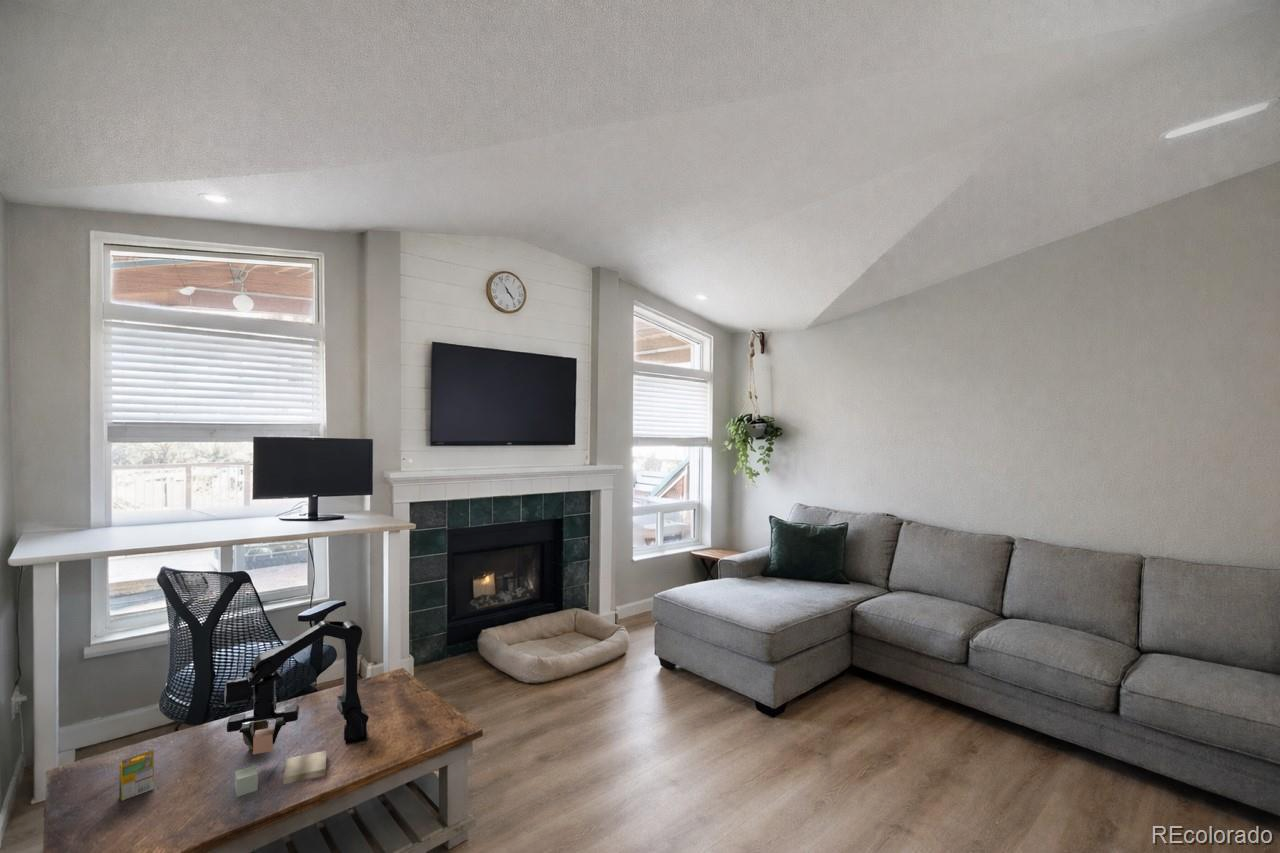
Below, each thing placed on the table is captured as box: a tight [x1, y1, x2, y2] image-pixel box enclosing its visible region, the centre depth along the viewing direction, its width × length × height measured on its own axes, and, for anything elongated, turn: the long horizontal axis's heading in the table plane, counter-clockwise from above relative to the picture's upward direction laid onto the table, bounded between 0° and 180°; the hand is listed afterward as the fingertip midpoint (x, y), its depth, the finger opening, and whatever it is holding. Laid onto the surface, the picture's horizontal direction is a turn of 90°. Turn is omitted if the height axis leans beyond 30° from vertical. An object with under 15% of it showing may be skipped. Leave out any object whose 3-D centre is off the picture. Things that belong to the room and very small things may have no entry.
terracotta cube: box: [252, 726, 275, 755], centre depth 187 cm, size 5×5×5 cm
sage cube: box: [234, 765, 259, 797], centre depth 175 cm, size 5×5×5 cm
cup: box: [242, 720, 270, 751], centre depth 196 cm, size 8×7×8 cm
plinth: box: [282, 750, 328, 785], centre depth 185 cm, size 11×11×2 cm
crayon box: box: [118, 749, 155, 802], centre depth 172 cm, size 7×3×12 cm, turn 141°
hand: (263, 745), depth 187 cm, fingers closed on terracotta cube, 5 cm apart
